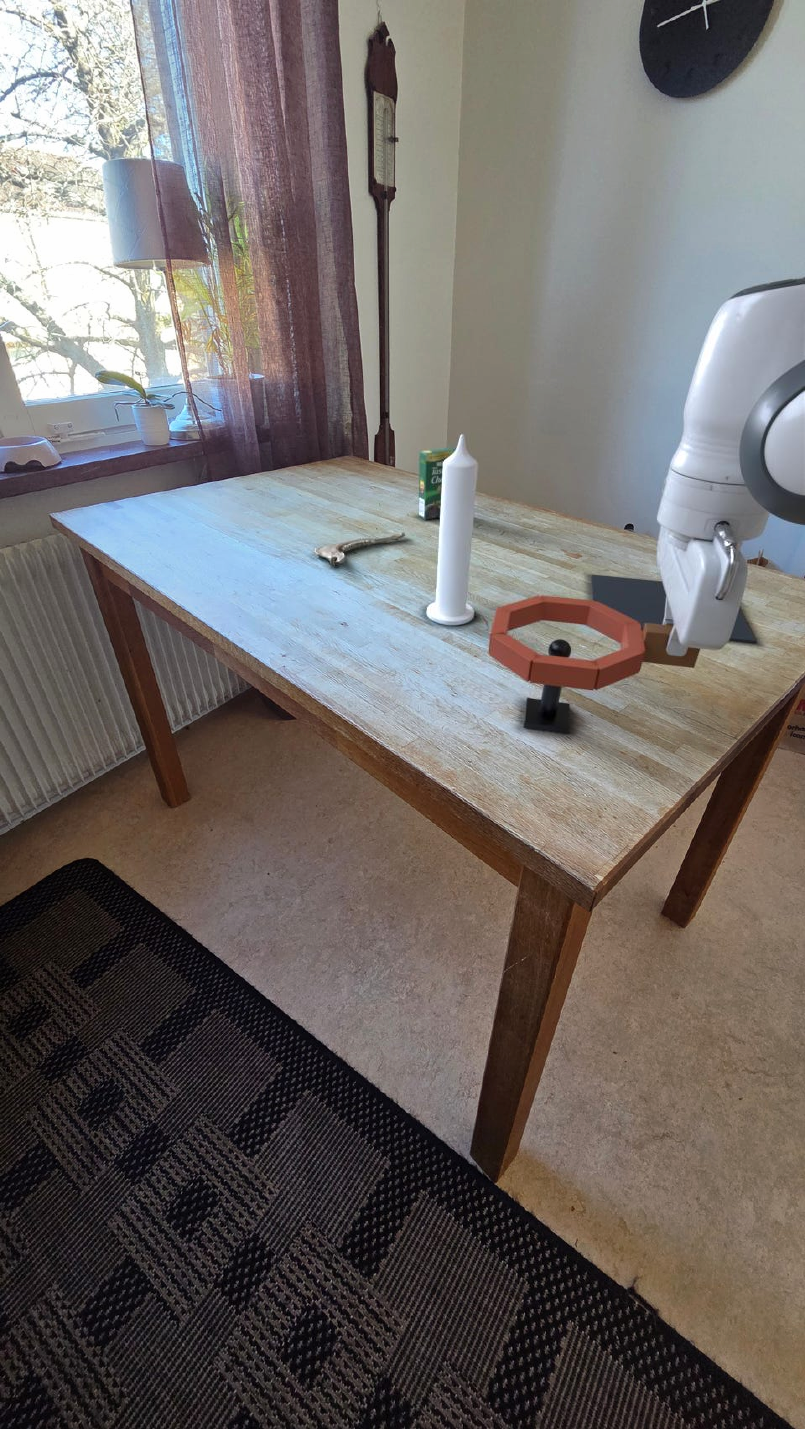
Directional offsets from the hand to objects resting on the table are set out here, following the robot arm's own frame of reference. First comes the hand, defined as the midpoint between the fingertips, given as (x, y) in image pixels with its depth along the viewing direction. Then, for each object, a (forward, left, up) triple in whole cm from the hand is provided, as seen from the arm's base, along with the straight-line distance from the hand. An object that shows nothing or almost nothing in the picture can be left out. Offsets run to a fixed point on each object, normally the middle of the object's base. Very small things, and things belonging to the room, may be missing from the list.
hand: (672, 644), depth 61 cm
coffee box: (+36, -67, -12) cm, 77 cm away
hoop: (+8, 0, -2) cm, 8 cm away
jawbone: (+44, -43, -12) cm, 62 cm away
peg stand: (+11, 0, -11) cm, 16 cm away
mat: (-6, -34, -11) cm, 36 cm away
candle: (+26, -23, -12) cm, 36 cm away
